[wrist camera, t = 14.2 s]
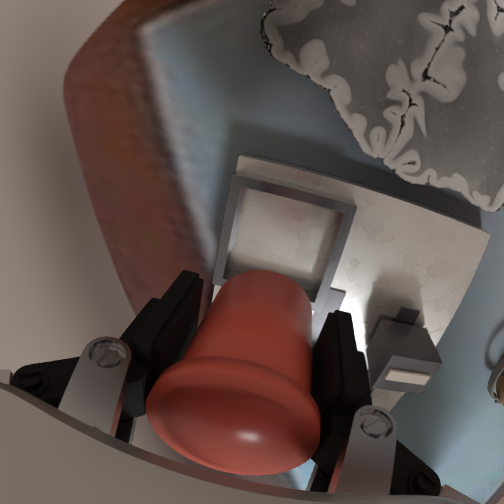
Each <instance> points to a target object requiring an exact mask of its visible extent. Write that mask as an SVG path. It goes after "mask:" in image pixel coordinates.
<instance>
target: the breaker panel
mask: <svg viewBox="0 0 504 504" xmlns="http://www.w3.org/2000/svg"><path fill="white" fill-rule="evenodd" d="M490 236H491V234H489V233H488V232H487V231H485V230H484V229H483V228H481V227H478V226H476V225H474V224H471V223H469V222H466V221H464V220H462V219H459V218H457V217H454V216H451V215H449V214H446V213H444V212H441V211H439V210H436V209H433V208H431V207H428V206H425V205H422V204H420V203H417V202H414V201H411V200H408V199H405V198H403V197H400V196H397V195H394V194H391V193H388V192H385V191H382V190H379V189H375V188H372V187H369V186H366V185H363V184H359V183H356V182H353V181H349V180H346V179H343V178H339V177H336V176H332V175H329V174H325V173H322V172H318V171H314V170H310V169H307V168H303V167H299V166H295V165H291V164H287V163H283V162H279V161H275V160H271V159H266V158H262V157H258V156H253V155H249V154H242V155H239V159H238V164H237V169H236V172H234V173H233V174H232V177H231V183H230V188H229V193H228V198H227V203H226V209H225V214H224V220H223V225H222V231H221V236H220V242H219V247H218V253H217V259H216V265H215V270H214V276H213V282H212V284H214V285H215V287H214V293H213V299H212V302H213V300H214V298H215V297H216V295H217V293H218V291H219V290H220V288H221V287H222V285H223V284H224V283H225V282H226V281H227V280H229V279H230V278H232V277H233V276H235V275H237V274H239V273H242V272H245V271H250V270H269V271H274V272H277V273H280V274H283V275H285V276H287V277H289V278H290V279H292V280H293V281H295V282H296V283H297V284H298V285H299V286H300V287H301V288H302V289H303V290H304V292H305V293H306V295H307V297H308V298H309V301H310V303H311V308H312V351H313V348H314V346H315V344H316V341H317V339H318V337H319V334H320V332H321V330H322V327H323V325H324V322H325V320H326V318H327V315H328V313H329V312H332V313H334V311H335V310H341V311H345V312H349V313H351V315H352V321H353V326H354V332H355V338H356V344H357V350H358V351H362V352H363V353H364V355H365V360H366V366H367V372H368V378H369V384H370V390H371V397H372V404H373V405H375V406H379V407H381V408H384V409H385V410H387V411H388V412H390V411H391V410H392V409H393V407H394V406H395V405H396V403H397V402H398V401H399V399H400V398H401V397H402V395H403V394H404V393H405V392H398V391H390V390H383V389H376V388H372V384H371V378H370V372H369V366H368V361H367V355H366V348H367V346H368V344H369V342H370V341H371V339H372V337H373V335H374V333H375V331H376V329H377V327H378V325H379V323H380V321H381V319H386V320H391V321H395V322H399V323H404V324H408V325H413V326H418V327H422V328H427V330H428V332H429V334H430V337H431V339H432V341H433V343H434V345H435V347H436V345H437V343H438V342H439V340H440V338H441V337H442V335H443V333H444V332H445V330H446V328H447V327H448V325H449V323H450V321H451V319H452V318H453V316H454V314H455V312H456V310H457V308H458V306H459V305H460V303H461V301H462V299H463V297H464V295H465V293H466V291H467V289H468V287H469V285H470V283H471V280H472V278H473V276H474V274H475V272H476V270H477V267H478V265H479V263H480V261H481V258H482V256H483V254H484V251H485V249H486V246H487V244H488V241H489V239H490Z"/></svg>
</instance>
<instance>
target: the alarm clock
mask: <svg viewBox="0 0 504 504" xmlns="http://www.w3.org/2000/svg"><path fill="white" fill-rule="evenodd" d="M503 370H504V358H503V359H502V360H501V361H500V362H499V363H498V365H497V366H496V367H495V369H494V371H493V372H492V374H491V376H490V378H489V381H488V388H487V389H488V391H489V393H490V395H491V397H492V398H493V399H495V403H500V404H502V405H503V406H504V372H503ZM502 372H503V373H502ZM501 373H502V374H501ZM500 374H501V375H500ZM496 381H497V382H496ZM495 383H496V392H497V395H496V394H495V393H494V392H493V389H494V386H495ZM497 396H498V397H497Z"/></svg>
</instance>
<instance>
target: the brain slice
mask: <svg viewBox="0 0 504 504" xmlns="http://www.w3.org/2000/svg"><path fill="white" fill-rule="evenodd" d="M269 3H270V5H271V8H270V9H268V10H267V11H266V12H265V13H264V14H263V17H262V20H261V29H260V33H261V36H262V39H263V41H264V44H265V46H266V49H267V50H268V52H269V53H270V55H271V56H272V57H274V58H275V59H276V60H278V61H280V62H283V63H285V64H286V65H287V66H288V67H289V68H290V69H292V70H294V71H295V72H297V73H299V74H301V75H304V76H306V77H308V78H309V79H310V80H311V81H312V82H314V83H315V84H316V85H317V86H318V87H320V88H321V89H322V90H323V91H324V92H325V93H326V94H327V95H328V96H329V98H330V99H331V100H332V102H333V104H334V106H335V107H336V109H337V111H338V113H339V114H340V116H341V118H342V119H343V121H344V123H345V124H346V126H347V127H348V128H349V129H350V130H351V132H352V135H353V137H354V139H355V140H356V141H357V143H358V144H359V146H360V147H361V149H362V150H363V152H364V153H366V154H368V155H369V156H371V157H372V158H374V159H377V158H383V165H384V166H386V167H388V168H389V169H391V170H392V171H393V172H394V173H396V174H397V175H398V176H400V177H401V178H402V179H404V180H405V181H406V182H408V183H412V184H418V185H423V184H425V185H429V186H433V187H437V188H442V189H444V188H448V189H450V190H452V191H456V192H459V193H460V194H461V195H462V196H463V197H464V198H465V199H466V200H468V201H469V202H470V203H471V204H473V205H476V206H479V207H481V208H482V209H483V210H484V211H487V212H495V211H498V210H499V209H500V208H501V207H503V206H504V0H269Z"/></svg>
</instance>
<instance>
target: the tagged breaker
mask: <svg viewBox="0 0 504 504" xmlns="http://www.w3.org/2000/svg"><path fill="white" fill-rule="evenodd" d="M366 355H367V361H368V366H369V372H370V378H371V384H372V388H376V389H383V390H390V391H398V392H406V393H414V394H421V393H422V392H423V390H424V389H425V388H426V386H427V385H428V383H429V382H430V381H431V379H432V378H433V377H434V375H435V374H436V372H437V371H438V369H439V368H440V366H441V365H442V361H441V359H440V357H439V354H438V352H437V350H436V348H435V345H434V343H433V341H432V339H431V337H430V334H429V332H428V330H427V328H422V327H418V326H413V325H408V324H404V323H399V322H395V321H391V320H386V319H381V321H380V323H379V325H378V327H377V329H376V331H375V333H374V335H373V337H372V339H371V341H370V342H369V344H368V346H367V348H366Z"/></svg>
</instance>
